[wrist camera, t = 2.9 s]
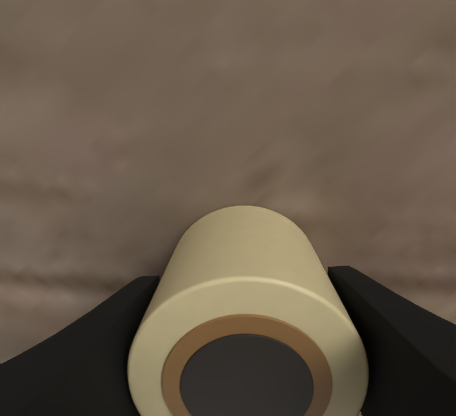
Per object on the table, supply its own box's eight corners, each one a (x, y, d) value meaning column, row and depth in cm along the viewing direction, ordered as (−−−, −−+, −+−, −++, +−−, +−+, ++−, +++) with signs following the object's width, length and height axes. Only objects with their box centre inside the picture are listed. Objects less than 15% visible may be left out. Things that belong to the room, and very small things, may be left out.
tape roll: (181, 336, 12) (144, 479, 8) (162, 209, 11) (101, 287, 6) (316, 331, 12) (366, 476, 7) (317, 199, 10) (381, 274, 6)
